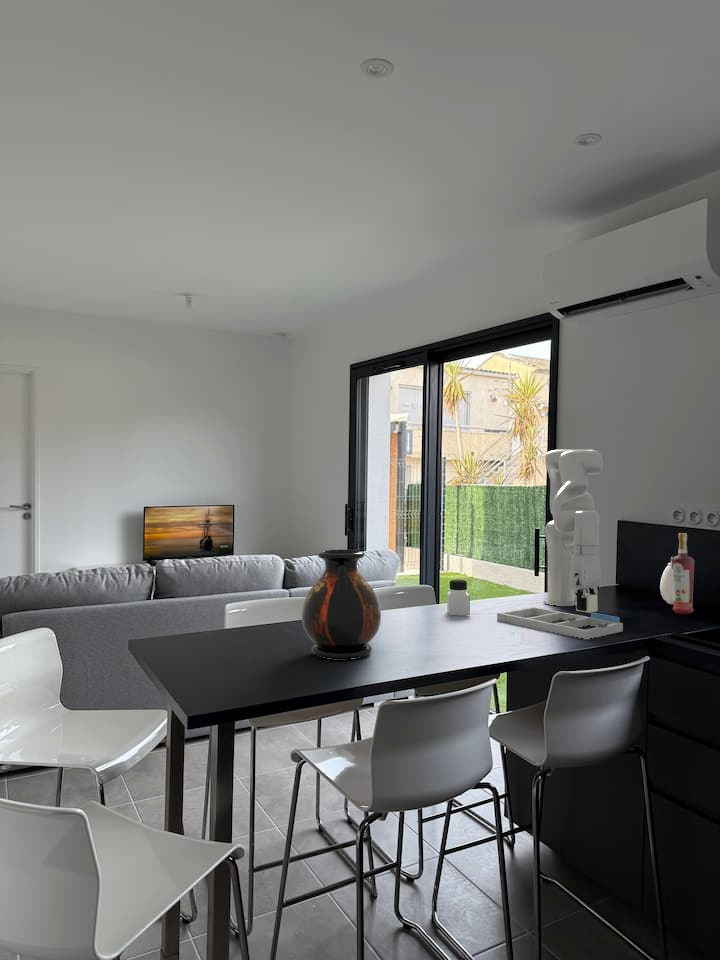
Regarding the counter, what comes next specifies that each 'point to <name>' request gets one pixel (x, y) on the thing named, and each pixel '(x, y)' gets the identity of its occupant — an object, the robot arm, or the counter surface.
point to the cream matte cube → (590, 603)
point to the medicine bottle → (458, 598)
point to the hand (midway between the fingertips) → (586, 608)
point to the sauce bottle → (667, 584)
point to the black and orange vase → (341, 608)
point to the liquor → (683, 578)
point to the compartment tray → (569, 627)
